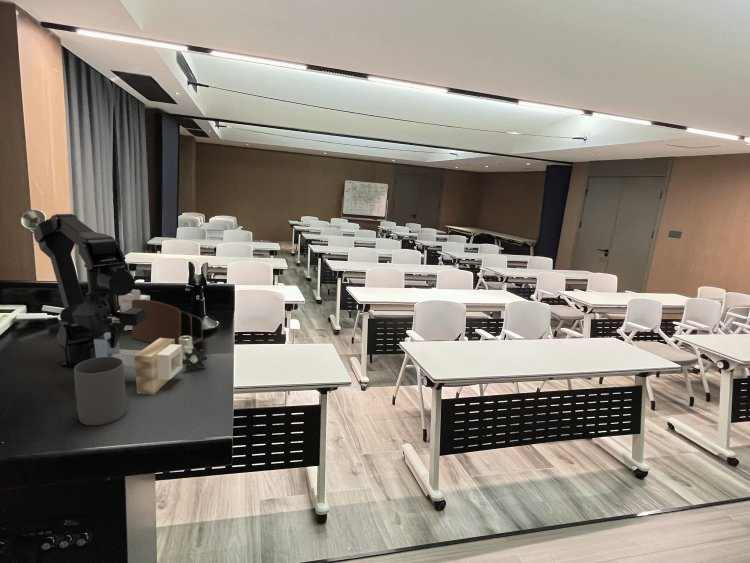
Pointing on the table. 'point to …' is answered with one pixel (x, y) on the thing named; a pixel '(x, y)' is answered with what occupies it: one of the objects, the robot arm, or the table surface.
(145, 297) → the ink box
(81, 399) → the mug
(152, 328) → the letter holder
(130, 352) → the pale grey block
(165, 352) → the block
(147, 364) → the wooden block
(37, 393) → the table surface
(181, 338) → the valve
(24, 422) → the table surface
